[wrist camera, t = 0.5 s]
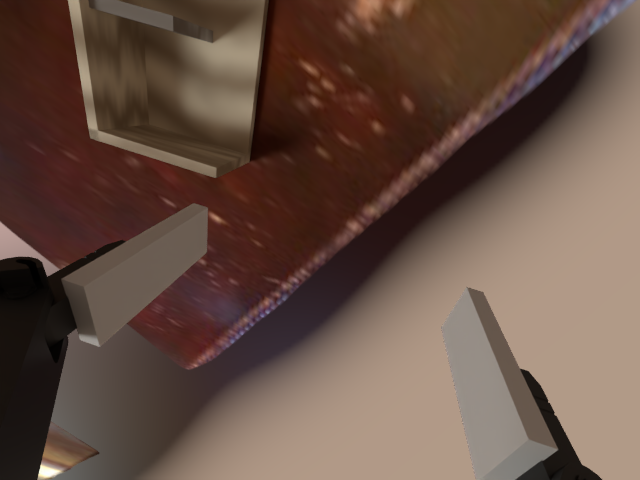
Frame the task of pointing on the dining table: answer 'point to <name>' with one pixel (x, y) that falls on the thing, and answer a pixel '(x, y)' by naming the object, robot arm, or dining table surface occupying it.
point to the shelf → (172, 77)
